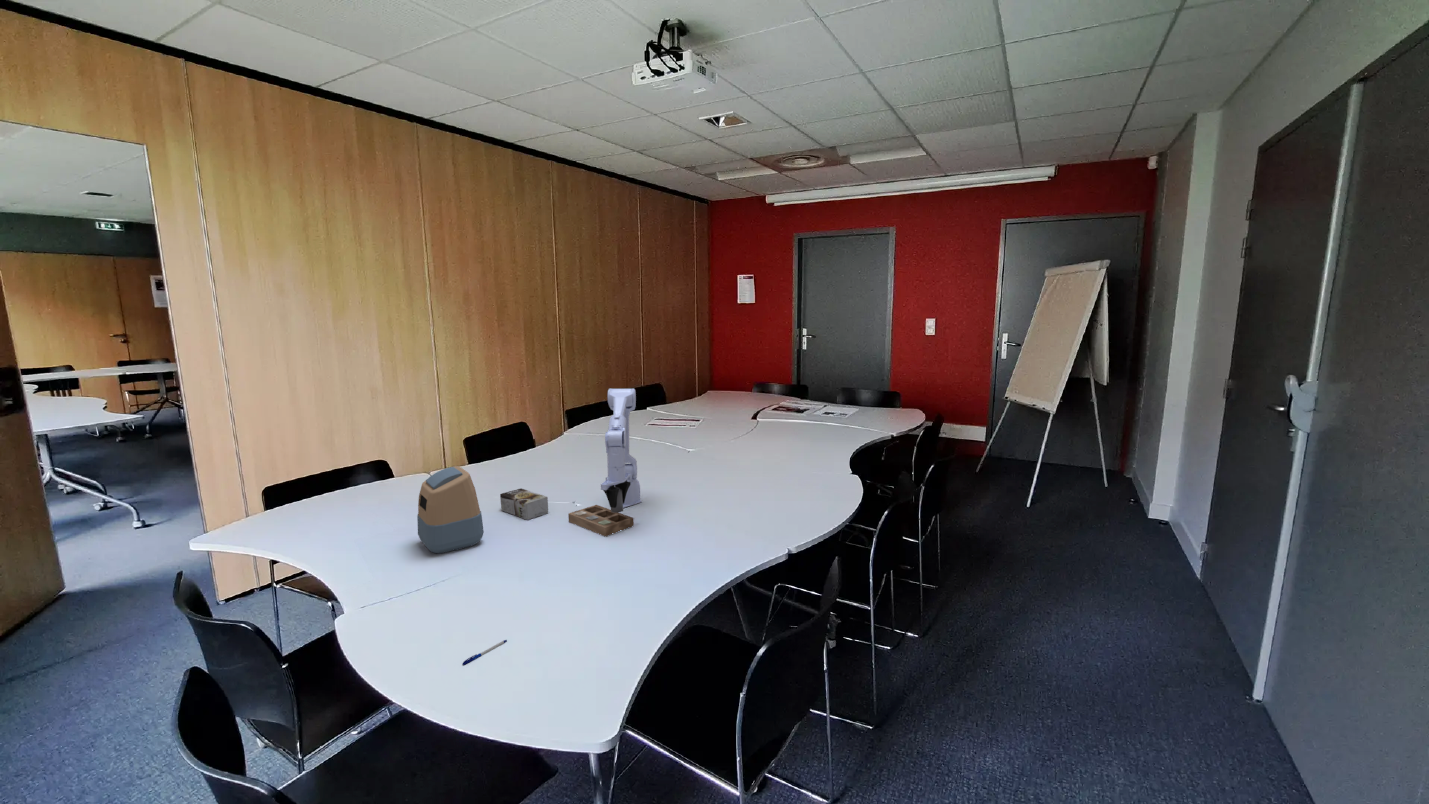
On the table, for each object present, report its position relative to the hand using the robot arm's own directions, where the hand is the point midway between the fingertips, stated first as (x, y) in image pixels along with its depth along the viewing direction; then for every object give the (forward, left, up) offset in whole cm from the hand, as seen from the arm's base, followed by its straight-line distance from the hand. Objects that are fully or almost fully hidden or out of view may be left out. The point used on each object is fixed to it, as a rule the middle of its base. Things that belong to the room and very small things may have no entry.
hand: (617, 505), depth 191 cm
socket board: (+2, -7, -8) cm, 10 cm away
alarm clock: (+43, -29, -8) cm, 52 cm away
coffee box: (+12, -28, -4) cm, 31 cm away
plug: (0, 0, -2) cm, 2 cm away
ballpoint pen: (+65, +34, -8) cm, 74 cm away
